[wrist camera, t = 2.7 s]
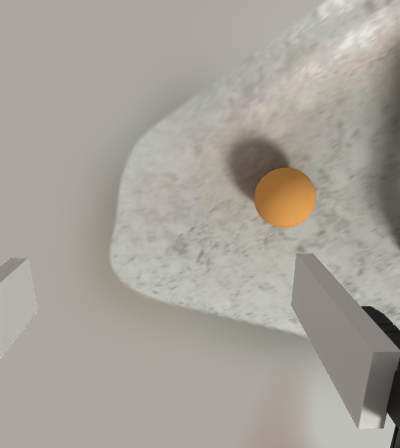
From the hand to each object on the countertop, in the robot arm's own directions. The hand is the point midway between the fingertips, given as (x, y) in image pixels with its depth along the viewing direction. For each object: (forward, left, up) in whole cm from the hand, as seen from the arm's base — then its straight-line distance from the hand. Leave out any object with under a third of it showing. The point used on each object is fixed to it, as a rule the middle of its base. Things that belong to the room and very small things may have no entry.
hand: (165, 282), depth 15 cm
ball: (0, +10, -16) cm, 19 cm away
